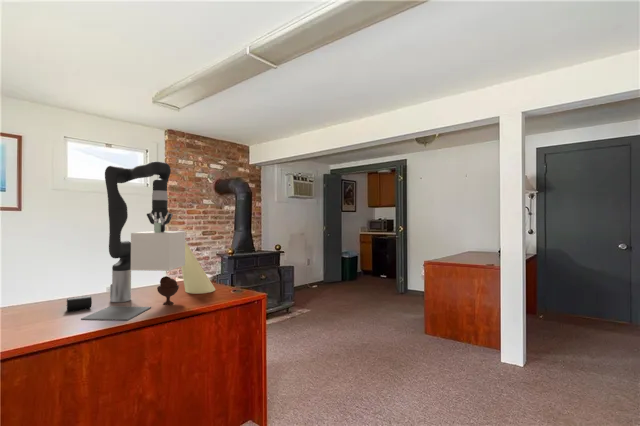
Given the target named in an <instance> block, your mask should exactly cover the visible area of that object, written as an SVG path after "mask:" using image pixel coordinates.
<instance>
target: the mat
mask: <svg viewBox="0 0 640 426" xmlns="http://www.w3.org/2000/svg"><path fill="white" fill-rule="evenodd" d="M151 308H152V306H115V305H113V306H112V305H110V306H107V307H105V308H103V309H99V310H98V311H96V312H95V311H94V312H93V313H91V314H89V315H86V316H84V317H81V318H80V321H123V322H125V321H129V320H131V319H133V318H135V317H137V316H139V315H141V314H143V313H145V312H146V311H148V310H150V309H151Z"/></svg>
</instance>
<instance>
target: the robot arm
mask: <svg viewBox="0 0 640 426" xmlns="http://www.w3.org/2000/svg"><path fill="white" fill-rule="evenodd" d="M171 171H172V169H171V166H170V164H169V163H167V162H163V161H155V160H154V161H150V162H148V163H145V164H138V165H136V166H134V167H133V168H126V167H122V166H115V165H109V166H107V167H106V168H105V170H104V180H105V188H106V192H107V194H106V195H107V205H108V207H107V208H108V209H107V210H108V212H107V213H108V221H109V223H108V224H109V225H108V226H109V228H108V229H109V233H108V235H109V236H108V252H109V256H110V257H111V258H112V259H119V260H118V261H117V262H115V263H114V264H113V265H112V266H111V268H112V269H111V274H112V275H111V278H112V279H111V283H110V287H109V289H110V290H109V291H110V293H109V294H110V295H109V299H110V300H109V301H110V302H111V303H125V302H129V301H131V299H132V270H131V241H129V240H121V238H122V237H121V236H122V231H123V229H124V226H125V225H126V222H127V220H128V218H129V217H128V206H127V203H126V201H125V199H124V198H123V197H122V195H121V193H120V191H119V185H118V184H125V183H129V182H130V181H134V180H136V179H143V178H150V177H151V178H152V177H153V176H159V177H158V179H154V180H153V181H152V193H151V197H152V198H151V211H150V212H149V213H146V217H147V218H148V221H149V223H150V224H151V225H154V223H161V232H164V231H166V225H169V224H170V222H171V220H172V218H173V216H174V214H173V213H172V212H171V213H170V212H169V210H168V208H169V206H168V205H169V204H168V203H169V201H168V198H169V196H168V182H169V180H170V176H171V173H172V172H171ZM159 221H160V222H159Z"/></svg>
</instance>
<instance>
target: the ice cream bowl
mask: <svg viewBox="0 0 640 426" xmlns="http://www.w3.org/2000/svg"><path fill="white" fill-rule="evenodd" d="M159 284H160V285H159V286H157V292H158V293H159V294H160V295H161V296H163V297H165V298H166V300H165V301H164V302H162V306H172V305H174V302H173V301H171V297H172V296H174V295H175V294H176V293H177V292H178V291H179V288H180V285H178V282H177V281H176V279H173V278H172V277H170V276H163V277H161V278H160V281H159Z"/></svg>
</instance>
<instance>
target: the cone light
mask: <svg viewBox="0 0 640 426" xmlns="http://www.w3.org/2000/svg"><path fill="white" fill-rule="evenodd" d="M180 269H181V272H182V273H181V274H182V279H183V287H184V291H185V293H187V294H197V295H198V294H207V293H212V292H215V291H216V288H215V286H214V284H213V283H212V282H211V280H210V278H209V277H208V274H207V273H206V272H205V270H204V268H203V267H202V266H201V263H200V262H199V260H198V259H197V257H196V256H195V253H194V252H193V251H192V249H191V248H190V246H189V244H188V243H187V241H186V240H185V265H184V266H181V267H180Z"/></svg>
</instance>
